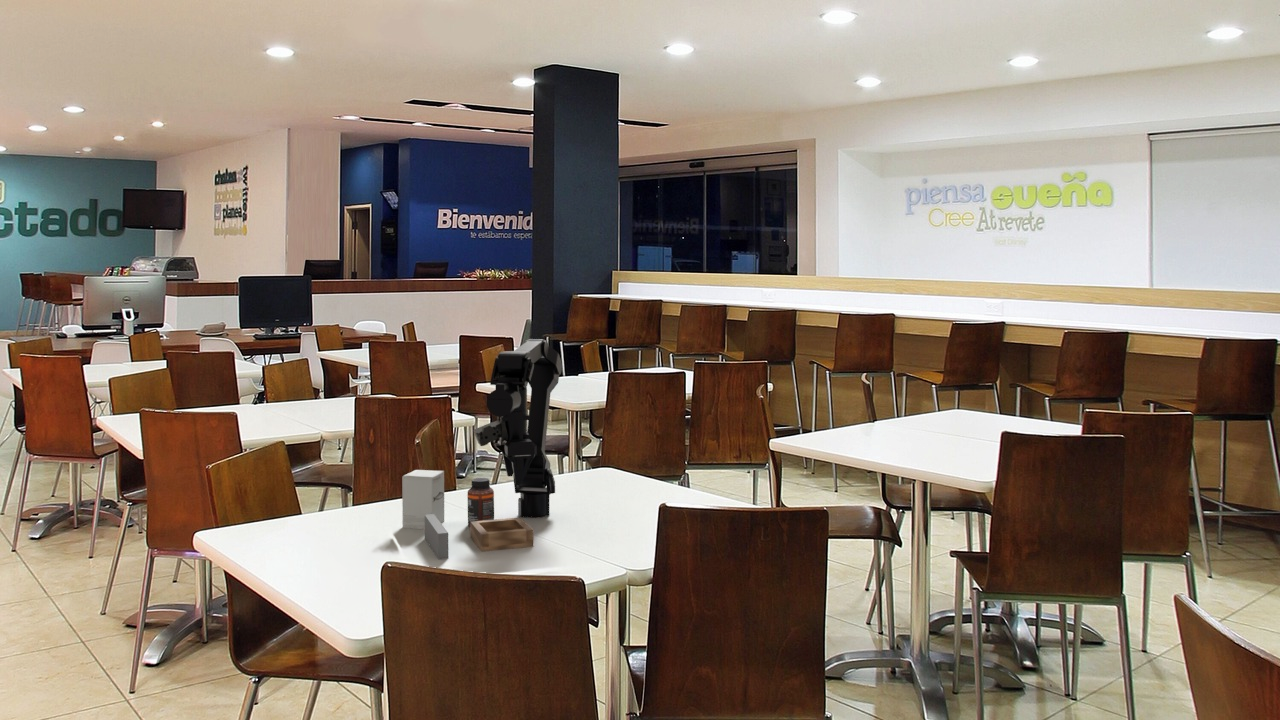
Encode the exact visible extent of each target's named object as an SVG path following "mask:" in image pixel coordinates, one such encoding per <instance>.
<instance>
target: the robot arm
mask: <svg viewBox="0 0 1280 720" xmlns="http://www.w3.org/2000/svg"><path fill="white" fill-rule="evenodd" d="M562 364H563V363H562V359H561V356H560V354H559V352H558V351H557V350H555V349H554V348H553V347H552V346H550V345H549V342H548V340H545V339H542V338H541V339H540V338H538V339H537V338H536V339H535V338H534V339H533V338H529V339H525V340H524V343H523V344H521V345H520V346H519V347H517V348H516V349H515V350H510V351H509V350H508V351H505V350H504V351H500V352H499V353H498V354H497V356H496V357H495V360H494V363H493V368H492V372H491V377H490V381H489V384H490V385H491V386H495V389H494V390H493V391H491V392H490V393H489V394H488V396H487V399H486V400H485V401H486V408H487V410H488V412H490V413H491V415H493V416H495V417H497V420H496V421H491V422H489V423H487V424H484V425H482V426H479V427H477V428H475V429H473V433H474V437H475V438H476V441H477V443H478V445H479V446H480V447H483V446H487V445H488V444H489V443H492V442H493V444H494V446H495V447H496V449H498V450H499V451H500V452H501V455H502V459H503V463H504V466H505V467H504V468H505V471H506V476H507V477H513V484H514V485H513V486H514V494H520V497H518V499H517V500H518V501H517V502H518V506H517V508H518V509H517V510H518V512H517V513H518V516H519V517H520V518H528V519H529V518H530V519H534V518H535V519H536V518H537V519H538V518H545V517H546V516H547V517H549V516H550V495H551V494H556V479H555V478H554V475H553V471H552V469H551V463H550V460H549V459H548V458H549V457H548V456H547V454H546V442H547V432H548V422H549V421H548V420H549V411H550V402H551V401H550V400H551V393H552V392H553V390H554V389H555V387H556V386H557V385H558V384H559V379H560V375H561V374H562V370H563V365H562ZM528 385H529V387H530V388H531V394H530V403H529V410H528V389H527V388H528ZM528 411H529V412H528Z"/></svg>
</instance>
